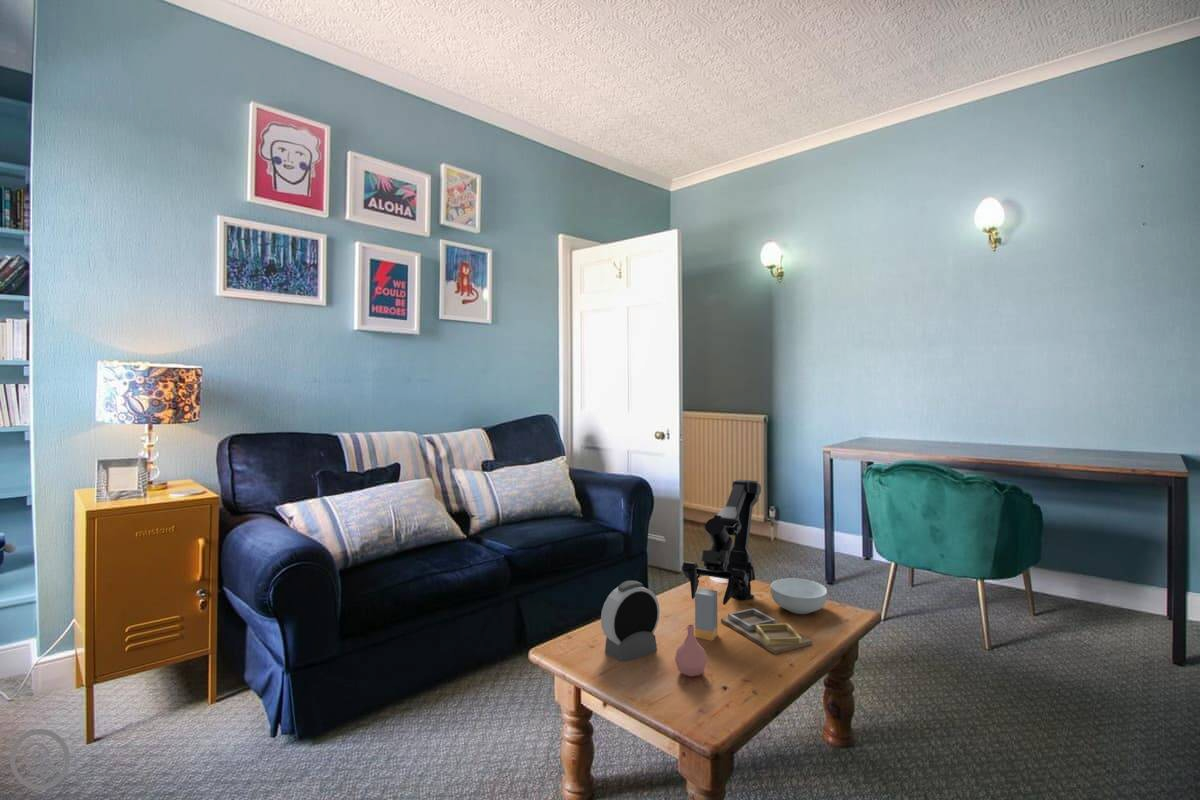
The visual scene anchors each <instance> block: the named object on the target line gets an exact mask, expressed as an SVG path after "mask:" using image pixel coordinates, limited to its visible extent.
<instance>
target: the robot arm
mask: <svg viewBox="0 0 1200 800" xmlns="http://www.w3.org/2000/svg"><path fill="white" fill-rule="evenodd" d="M731 487H732V489H731V491H730V494H729V496H728V499H727V501H726V504H725V507H724V508H723V509H721V510H719V511H718V513H717V515H716V514H715V515H714V516H713V517H712V518H710V519H708V520H707V521H706V522H705V524H704V529H705V531H706V534H707V537H708V539H709V541H710V542H711V543H712V544H711V547H710V549H709V550H707V549H703V550H702V555H701V562H703V566H704V567H705V568H704V567H699V565H698V563H697V562H693V561H688V560H687V561H686V560H685V561H684V562H683V563H682V565H681V570H682V572H683V574H684V576H685V578H687V579H688V581H689V582H690V583H689V584H690V592H691V599H692V600H695V593H696V592H697V591H698V587H699V583H700V580H699V579H700V576H707V577H712V578H718V579H725V580H727V581H728V582H727V587H726V588H725V589H726V590H725V593H724V596H723V600H722V605H724V606H725V605H726V604H727V603H728V602H729V601H730V600H731V598H734V599H736V600H738V601H743V600H746V599H751V598H754V597H755V595H754V594H752V584H751V582H752V581H755V580H756V570H755V567H754V564H753V562H752V561H753V560H752V556H751V553H750V551H749V541H750V531H751V524H752V513H753V509H754V508H753V507H754V506H755V505H756V504H757V502H758V501H759V497H760V495H761V493H762V486H761V484H760V483H759V482H758V480H749V479H736V480H735V479H734V480H733V481H732V486H731ZM731 536H734V541H733V539H732V537H731Z"/></svg>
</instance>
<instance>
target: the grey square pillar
mask: <svg viewBox="0 0 1200 800" xmlns="http://www.w3.org/2000/svg"><path fill="white" fill-rule="evenodd" d="M694 620H695V621H694V636H695V638H699V639H703V640H707V641H713V640H715V639H716V637H717V636H718V590H712V589H707V588H703V587H702V588H701V587H700V588H699V589H697V591H696V593H695V597H694Z"/></svg>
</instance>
